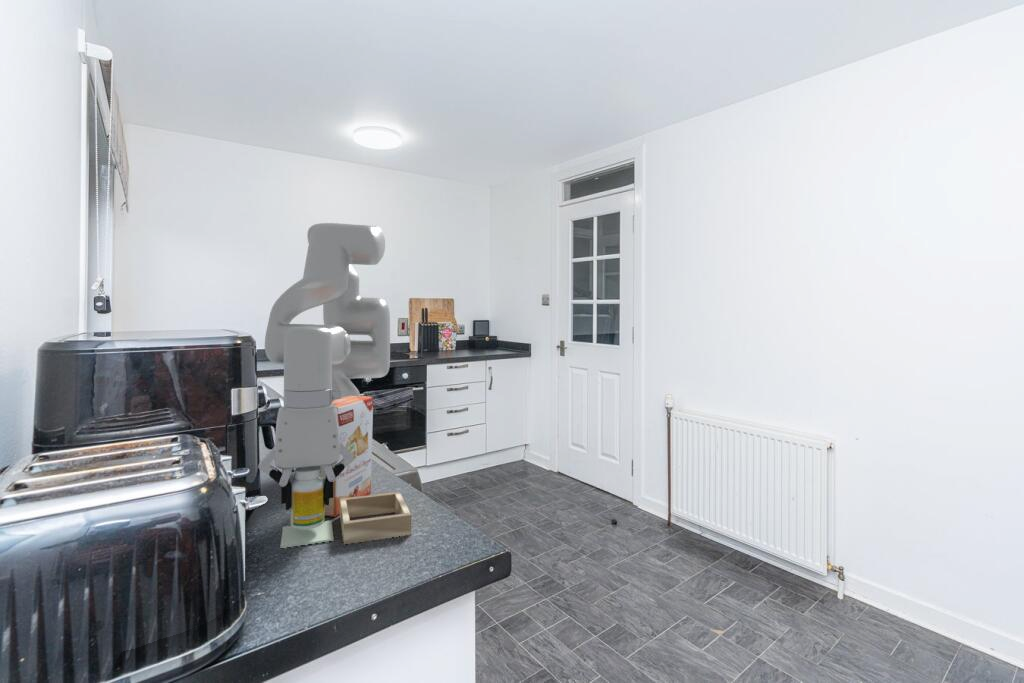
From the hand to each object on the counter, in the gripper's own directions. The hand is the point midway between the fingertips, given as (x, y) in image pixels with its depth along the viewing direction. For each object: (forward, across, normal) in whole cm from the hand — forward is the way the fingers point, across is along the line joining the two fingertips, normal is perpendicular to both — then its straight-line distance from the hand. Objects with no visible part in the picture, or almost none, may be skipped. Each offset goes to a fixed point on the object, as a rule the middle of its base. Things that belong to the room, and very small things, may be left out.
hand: (307, 503), depth 82 cm
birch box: (+5, -11, 0) cm, 12 cm away
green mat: (+5, 0, 0) cm, 5 cm away
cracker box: (+6, -6, -13) cm, 16 cm away
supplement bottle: (+4, 0, 0) cm, 4 cm away
